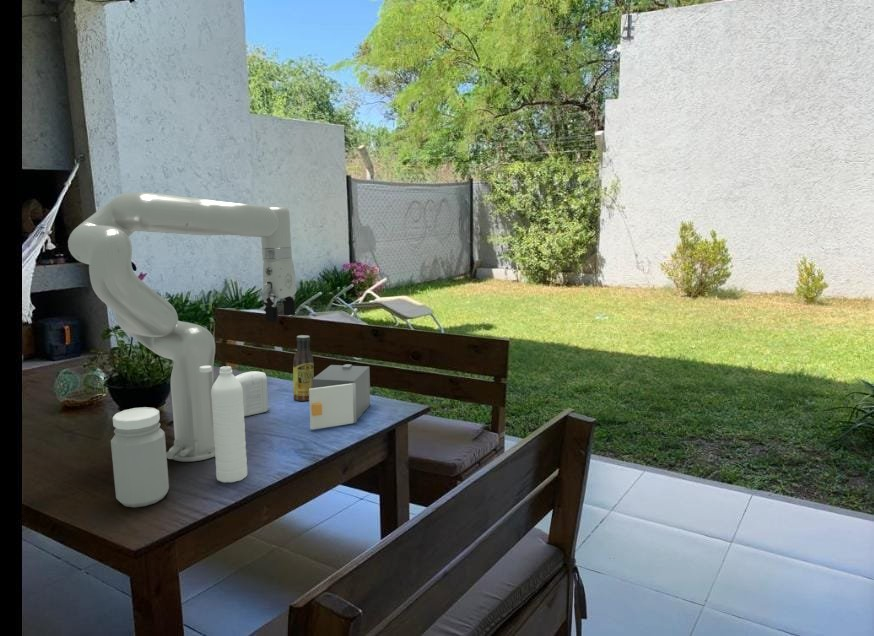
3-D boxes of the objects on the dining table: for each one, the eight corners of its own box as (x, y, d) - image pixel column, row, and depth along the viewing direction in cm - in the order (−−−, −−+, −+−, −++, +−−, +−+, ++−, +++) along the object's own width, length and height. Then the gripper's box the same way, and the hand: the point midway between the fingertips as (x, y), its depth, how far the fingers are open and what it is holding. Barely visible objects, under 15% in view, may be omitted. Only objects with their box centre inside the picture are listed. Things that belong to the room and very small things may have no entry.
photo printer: (263, 408, 182) (261, 367, 180) (270, 411, 179) (268, 370, 177) (230, 416, 175) (228, 374, 173) (237, 419, 172) (235, 377, 170)
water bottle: (251, 470, 138) (245, 363, 134) (242, 483, 132) (236, 370, 127) (212, 470, 138) (205, 363, 134) (201, 483, 132) (193, 370, 127)
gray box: (355, 423, 169) (354, 378, 167) (308, 420, 171) (306, 376, 169) (370, 405, 185) (369, 363, 182) (326, 402, 187) (325, 362, 185)
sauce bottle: (298, 403, 187) (295, 339, 183) (290, 398, 192) (287, 335, 188) (318, 399, 190) (316, 336, 187) (309, 394, 195) (307, 333, 192)
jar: (172, 502, 123) (165, 416, 120) (118, 513, 118) (109, 425, 115) (166, 483, 132) (160, 403, 128) (115, 493, 127) (107, 410, 124)
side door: (358, 423, 167) (357, 384, 165) (312, 430, 162) (310, 390, 160) (355, 421, 169) (354, 382, 167) (310, 428, 164) (308, 388, 162)
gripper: (273, 257, 151) (278, 325, 155) (304, 251, 168) (308, 312, 171) (246, 257, 153) (251, 324, 156) (279, 251, 170) (283, 312, 173)
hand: (281, 318), depth 164 cm, fingers open, 9 cm apart
